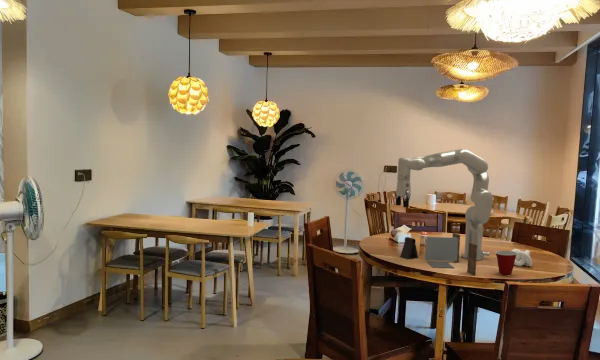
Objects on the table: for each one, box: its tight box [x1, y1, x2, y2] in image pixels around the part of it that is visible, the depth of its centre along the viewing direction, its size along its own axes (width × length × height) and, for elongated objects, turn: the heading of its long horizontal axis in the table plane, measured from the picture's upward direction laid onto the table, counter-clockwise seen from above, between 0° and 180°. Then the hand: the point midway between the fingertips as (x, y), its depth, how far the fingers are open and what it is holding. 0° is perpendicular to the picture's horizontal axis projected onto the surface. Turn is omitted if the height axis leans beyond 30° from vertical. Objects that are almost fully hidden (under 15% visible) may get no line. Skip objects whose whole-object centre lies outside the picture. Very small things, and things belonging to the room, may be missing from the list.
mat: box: [426, 261, 455, 269], centre depth 247 cm, size 12×12×1 cm
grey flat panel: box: [424, 236, 458, 262], centre depth 254 cm, size 2×18×14 cm, turn 88°
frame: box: [451, 232, 477, 276], centre depth 245 cm, size 2×35×16 cm, turn 178°
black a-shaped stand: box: [399, 236, 419, 260], centre depth 263 cm, size 9×6×12 cm, turn 121°
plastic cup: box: [494, 250, 517, 276], centre depth 232 cm, size 11×11×12 cm
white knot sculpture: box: [511, 248, 533, 267], centre depth 254 cm, size 11×12×9 cm
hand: (402, 206), depth 267 cm, fingers open, 9 cm apart
